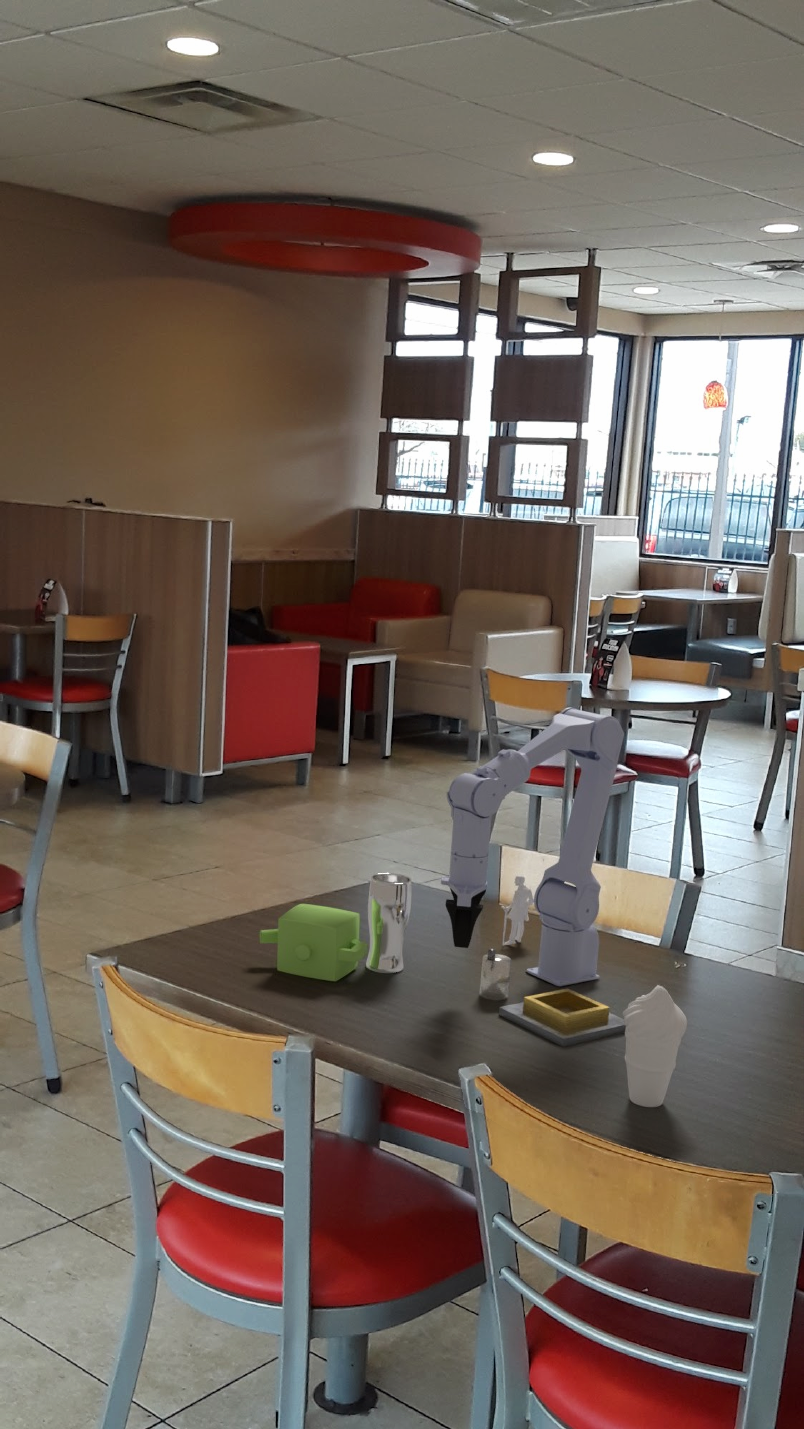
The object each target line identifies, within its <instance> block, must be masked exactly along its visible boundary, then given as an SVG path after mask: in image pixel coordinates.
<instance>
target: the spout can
mask: <svg viewBox="0 0 804 1429" xmlns="http://www.w3.org/2000/svg"><path fill="white" fill-rule="evenodd" d="M496 952H497V951H496V948H492V947H491V948H490V947H489V948H488V949H487V954H483V956H482V964H481V974H480V975H481V976H480V985H479V996H480V997H482V998H484V999H486V1000H491V1001H504V1000H506V999H508V997H509V985H510V974H511V962H512V959H511V958H510V957H509V956H507V955H505V954H500V953H496Z"/></svg>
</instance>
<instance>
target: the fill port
mask: <svg viewBox="0 0 804 1429" xmlns="http://www.w3.org/2000/svg"><path fill="white" fill-rule="evenodd" d="M498 1007H499V1010H498V1015H499V1016H500V1017H503V1018H505V1019H506V1020H509V1021H510V1022H512V1023H515V1024H517V1025H519V1026H520V1027H523V1028H525V1029H527V1030H528V1031H530V1032H532V1033H534V1034H537V1035H538V1036H541V1037H542V1038H545V1039H546V1040H548V1041H550V1042H553V1043H554V1044H556V1045H558V1046H560V1047H562V1048H564V1047H567V1046H572V1045H577V1044H581V1043H584V1042H590V1041H594V1040H598V1039H603V1038H606V1037H611V1036H615V1035H620V1034H625V1029H626V1026H625V1024H624V1023H623V1020H624V1018H622V1017H619V1016H618V1015H615V1014H614V1013H611V1012H610V1008H611V1007H610V1006H608V1005H606V1004H604V1003H601V1002H599V1001H596V1000H594V999H592V998H590V997H587V996H585V995H583V994H581V993H579V992H576V991H574V990H572V989H570V988H568V987H567V988H563V989H559V990H553V991H549V992H543V993H539V994H538V993H537V994H534V995H533V994H532V995H529V996H524V997H523V1001H522V1002H518V1003H514V1004H508V1005H503V1006H498Z"/></svg>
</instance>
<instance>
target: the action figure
mask: <svg viewBox="0 0 804 1429" xmlns="http://www.w3.org/2000/svg"><path fill="white" fill-rule="evenodd" d="M525 880H526V878H525V876H523V875H521V874H519V875H516V876H515V879H514V884H515V885H514V886H517V889H516V890H514V894H513V897H512V900H511V902H510V905H508V906H504V905H501V907H500V909H502V910H503V911H504V917H503V918H504V919H503V931H502V932H503V933H502V947H505V946H509V945H514V944H516V941H517V943H521V942H522V937H523V935H524V932H525V921H526V922H528V921H529V920H530V918H529V913H528V912H529V907H530V906H532V905H534V896H533V892H532V890H531V888H530V887H528V886H527V885H526V884H525ZM508 912H509V913H508ZM507 919H509V920H511V929H510V930H511V931H510V933H509V937H508V940H507V941H505V938H506V929H507V922H508V921H507Z"/></svg>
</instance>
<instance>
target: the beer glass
mask: <svg viewBox="0 0 804 1429" xmlns="http://www.w3.org/2000/svg"><path fill="white" fill-rule="evenodd" d="M369 883H370V884H369V888H368V890H369V891H368V897H367V920H368V931H369V932H368V933H369V951H368V953H367V959H366V962H365V966H366V968H367V969H368V970H370V971H371V972H375V973H378V974H396V972H397V973H399V972H401V971H402V970H404V959H403V944H404V940H405V935H406V931H407V927H408V924H409V920H410V914H411V909H412V908H411V906H412V879H411V877H410V876H408V875H405V874H401V873H393V872H379V873H375V874H372V875H371V876H370V882H369Z"/></svg>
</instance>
